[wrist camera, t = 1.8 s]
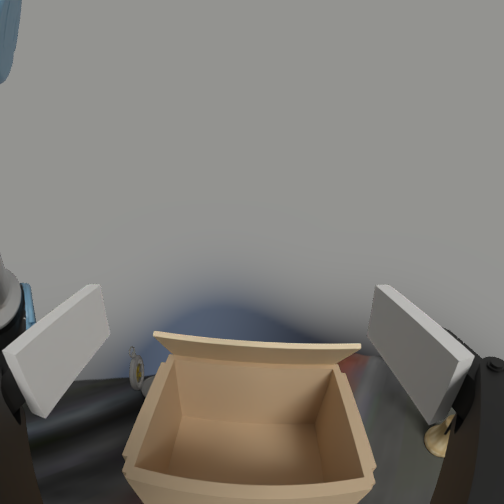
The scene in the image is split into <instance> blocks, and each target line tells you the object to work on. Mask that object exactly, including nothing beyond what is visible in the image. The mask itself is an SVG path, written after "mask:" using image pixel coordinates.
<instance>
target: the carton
mask: <svg viewBox="0 0 504 504" xmlns="http://www.w3.org/2000/svg"><path fill="white" fill-rule="evenodd" d="M122 456H123V458H124V459H125V464H124V467H123V469H122V472H123V474H124V475H125V478H126V480H127V481H128V483H129V484H130V485H131V487H132V488H133V490H134V491H135V492H136V494H137V495H138V496H139V498H140V499H141V500H142V502H143V503H144V504H357V503H358V502H359V501H360V500H361V499H362V498H363V497H364V496H365V495H366V494H367V493H368V492H369V491H370V490H371V489H372V486H373V485H374V484H375V479H374V476H373V471H374V470H375V468H376V464H375V461H374V457H373V454H372V451H371V448H370V445H369V441H368V438H367V435H366V432H365V429H364V426H363V423H362V420H361V417H360V414H359V411H358V408H357V405H356V402H355V399H354V397H353V394H352V391H351V388H350V385H349V382H348V380H347V377H346V374H345V373H341V371H340V368H339V366H338V364H337V365H290V364H264V363H247V362H234V361H222V360H212V359H203V358H194V357H186V356H179V355H172V354H169V356H168V358H167V361H166V363H164V362H162V363H161V365H160V367H159V369H158V371H157V373H156V376H155V378H154V380H153V382H152V385H151V387H150V389H149V391H148V394H147V396H146V398H145V401H144V403H143V405H142V408H141V410H140V412H139V415H138V417H137V419H136V422H135V424H134V427H133V429H132V431H131V434H130V436H129V439H128V441H127V444H126V446H125V449H124V451H123V454H122Z"/></svg>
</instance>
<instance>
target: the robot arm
mask: <svg viewBox="0 0 504 504" xmlns="http://www.w3.org/2000/svg"><path fill="white" fill-rule="evenodd" d="M21 1H22V0H0V84H1V83H3V82H4V81H5V80H6V78H7V77H8V75H9V73H10V69H11V66H12V63H13V54H14V51H15V48H16V42H17V36H18V28H19V21H20V13H21V3H22V2H21ZM109 336H110V330H109V325H108V321H107V316H106V311H105V306H104V301H103V295H102V290H101V285H96V284H88V285H86V286H85V287H83V288H82V289H81V290H79V291H78V292H77V293H75V294H74V295H72V296H71V297H70V298H68V299H67V300H66V301H64V302H63V303H61V304H60V305H59V306H57V307H56V308H55V309H54V310H52V311H51V312H50V313H48V314H47V315H46V316H44V317H43V318H42V319H40V320H39V321H38V322H37V323H36V318H35V313H34V306H33V300H32V293H31V287H30V285H29V284H27V283H25V284H24V283H20V284H19V282H18V279H17V278H16V276H15V275H14V274H13V273H11V271H9V270H7V269H5V267H4V264H3V261H2V258H1V255H0V504H43V501H42V498H41V495H40V491H39V488H38V484H37V480H36V476H35V472H34V468H33V463H32V458H31V453H30V447H29V441H28V435H27V427H26V419H25V412H24V410H23V408H22V406H21V405H22V404H23V403H24V402H25V401H26V403H27V405H28V407H29V409H30V410H31V412H32V413H34V414H36V415H38V416H41V417H43V418H47V416H48V415H49V413H50V412H51V411H52V409H53V408H54V407H55V405H56V404H57V402H58V401H59V400H60V398H61V397H62V396H63V394H64V393H65V392H66V390H67V389H68V388H69V386H70V385H71V384H72V382H73V381H74V380H75V378H76V377H77V376H78V375H79V373H80V372H81V370H82V369H83V368H84V367H85V366H86V364H87V363H88V362H89V360H90V359H91V358H92V357H93V355H94V354H95V353H96V352H97V350H98V349H99V348H100V347H101V345H102V344H103V343H104V342H105V341H106V339H107V338H108V337H109ZM367 337H368V338H369V340H370V341H371V342H372V344H373V345H374V347H375V348H376V349H377V351H378V352H379V353H380V355H381V356H382V358H383V359H384V361H385V362H386V363H387V365H388V366H389V368H390V369H391V370H392V372H393V373H394V375H395V376H396V378H397V379H398V380H399V382H400V383H401V385H402V386H403V388H404V389H405V391H406V392H407V393H408V395H409V396H410V398H411V399H412V401H413V402H414V404H415V405H416V407H417V408H418V410H419V411H420V413H421V414H422V416H423V417H424V419H425V420H426V422H427V423H428V425H431V424H434V423H437V422H439V421H442V420H444V419H445V418H446V416H447V415H448V413H449V411H450V409H451V407H452V408H453V409H454V410H455V411H456V414H455V416H454V417H453V419H452V421H451V422H450V424H449V426H448V428H447V429H446V431H445V433H444V435H447V433H448V431H449V430H450V435H449V440H448V444H447V449H446V453H445V457H444V461H443V464H442V468H441V471H440V475H439V478H438V481H437V485H436V488H435V491H434V494H433V496H432V499H431V502H430V504H504V361H503V360H501V359H499V358H496V357H486V358H483V359H482V358H481V357H480V356H478V354H476V353H475V352H474V351H473V350H472V349H470V348H469V347H468V346H467V345H466V344H465V343H464V344H463V342H462V341H461V340H460V339H459V338H458V339H457V336H456V335H454V334H453V333H452V332H450V331H449V330H447V329H445V328H443V327H441V326H439V325H438V324H437V323H436V322H435V321H434V320H433V319H431V318H430V317H429V316H428V315H426V314H425V313H424V312H423V311H422V310H420V309H419V308H418V307H417V306H415V305H414V304H413V303H412V302H410V301H409V300H408V299H407V298H405V297H404V296H403V295H402V294H400V293H399V292H398V291H396V290H395V289H394V288H392V287H391V286H390V285H375V291H374V298H373V304H372V310H371V316H370V321H369V326H368V331H367Z"/></svg>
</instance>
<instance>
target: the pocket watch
mask: <svg viewBox="0 0 504 504" xmlns="http://www.w3.org/2000/svg"><path fill="white" fill-rule="evenodd" d="M131 348H133V349H134V347H133V346H132V347H130V349H129V355H130V350H131ZM130 357H131V358H132V360H131V363H130V372H129V377H130V384H131V387H132V388H133V389H134V390H140V389H141V392H142V394H143V395H144V396H145V397H146V396H147V394H148V391H149V389H150V387H151V385H152V382H153V380H154V378H155V376H152V377H149V378H147V379H146V380H145V381H144V382H143V380H144V364H143V360H142V358H141V356H140V355H136V353H135V349H134V352H132V356H131V355H130Z"/></svg>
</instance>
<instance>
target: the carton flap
mask: <svg viewBox="0 0 504 504" xmlns="http://www.w3.org/2000/svg"><path fill="white" fill-rule="evenodd" d="M153 336H154V337H155V338H156V339H157V340H158V341H159V342H160V343H161V344H162V345H163V346H164V347H165V348H167V349H168V350H169V351H170V352H171V353H172V354H173V355H179V356H186V357H194V358H203V359H212V360H222V361H234V362H247V363H264V364H290V365H334V364H336V363H338V362H340V361H341V360H343V359H345V358H346V357H348V356H350V355H351V354H353V353H355V352H356V351H358V350H359V349H361V344H301V343H300V344H299V343H273V342H255V341H240V340H228V339H217V338H207V337H197V336H189V335H181V334H172V333H166V332H158V331H154V334H153Z"/></svg>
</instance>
